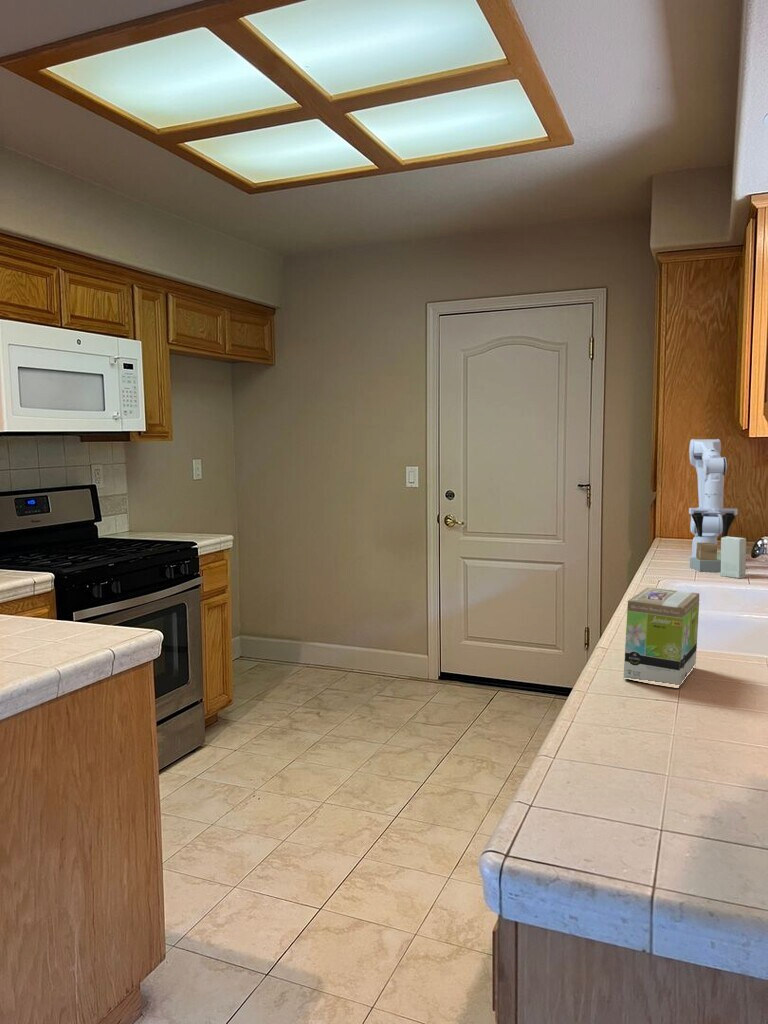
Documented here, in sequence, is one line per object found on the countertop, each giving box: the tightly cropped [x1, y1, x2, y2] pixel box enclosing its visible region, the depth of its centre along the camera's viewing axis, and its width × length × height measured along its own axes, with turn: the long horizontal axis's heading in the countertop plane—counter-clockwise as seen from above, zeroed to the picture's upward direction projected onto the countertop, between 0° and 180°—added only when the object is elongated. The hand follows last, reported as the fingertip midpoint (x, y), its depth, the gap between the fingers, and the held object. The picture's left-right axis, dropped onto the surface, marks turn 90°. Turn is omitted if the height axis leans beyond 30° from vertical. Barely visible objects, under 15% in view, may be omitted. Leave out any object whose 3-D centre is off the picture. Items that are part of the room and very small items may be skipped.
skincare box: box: [720, 535, 747, 579], centre depth 231 cm, size 6×4×12 cm
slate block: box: [689, 556, 721, 573], centre depth 242 cm, size 7×7×4 cm
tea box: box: [623, 587, 700, 685], centre depth 138 cm, size 15×10×15 cm, turn 148°
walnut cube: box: [696, 542, 718, 561], centre depth 242 cm, size 5×5×5 cm
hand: (712, 536), depth 245 cm, fingers open, 7 cm apart
